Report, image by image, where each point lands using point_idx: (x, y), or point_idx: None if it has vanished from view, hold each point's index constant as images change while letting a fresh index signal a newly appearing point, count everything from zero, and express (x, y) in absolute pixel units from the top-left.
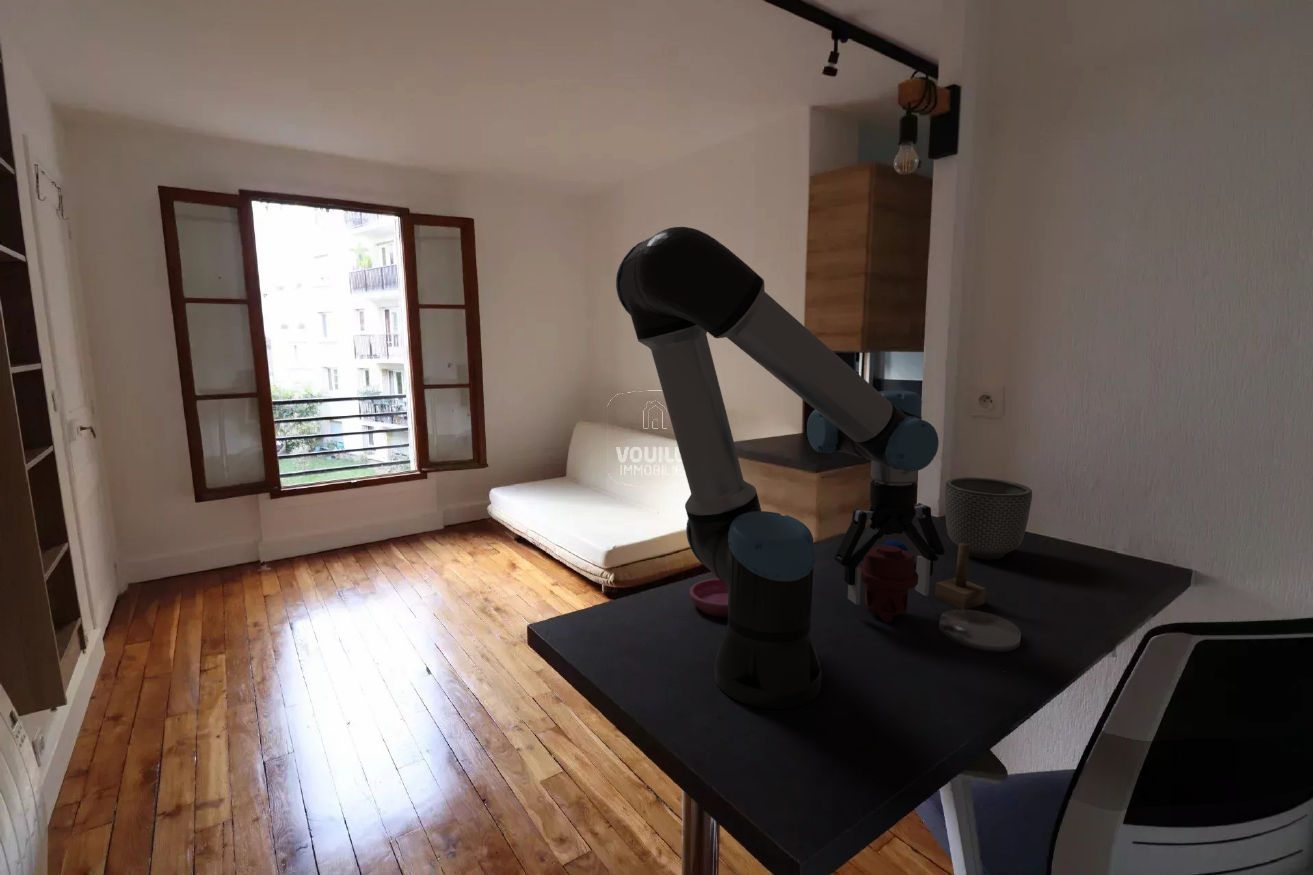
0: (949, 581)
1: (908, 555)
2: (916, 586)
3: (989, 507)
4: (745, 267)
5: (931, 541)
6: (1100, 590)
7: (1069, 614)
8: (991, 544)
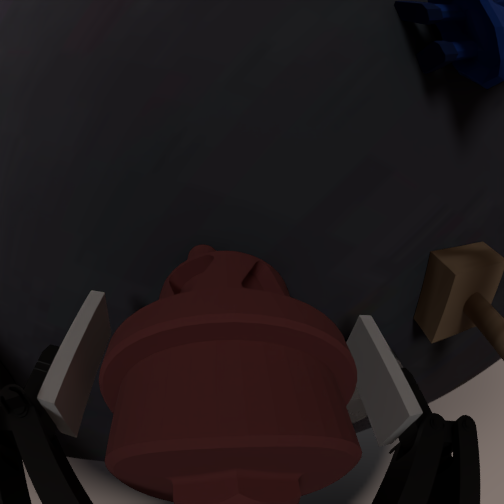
0: (480, 276)
1: (303, 491)
2: (361, 329)
3: None
4: None
5: (437, 482)
6: None
7: (485, 348)
8: None
